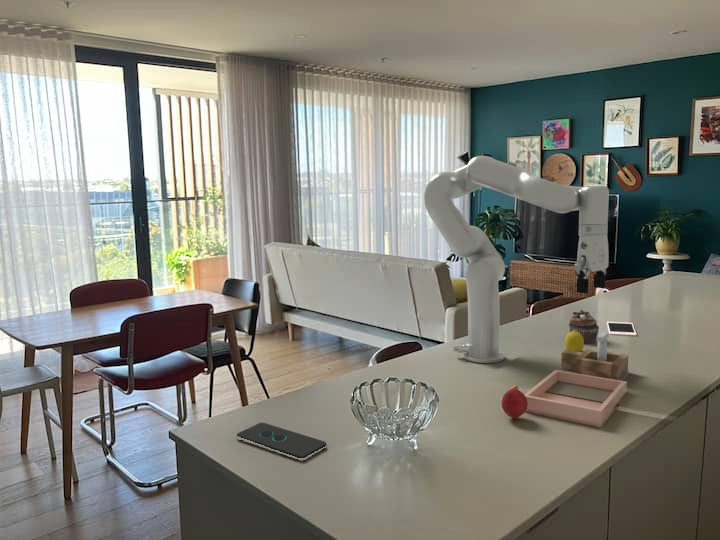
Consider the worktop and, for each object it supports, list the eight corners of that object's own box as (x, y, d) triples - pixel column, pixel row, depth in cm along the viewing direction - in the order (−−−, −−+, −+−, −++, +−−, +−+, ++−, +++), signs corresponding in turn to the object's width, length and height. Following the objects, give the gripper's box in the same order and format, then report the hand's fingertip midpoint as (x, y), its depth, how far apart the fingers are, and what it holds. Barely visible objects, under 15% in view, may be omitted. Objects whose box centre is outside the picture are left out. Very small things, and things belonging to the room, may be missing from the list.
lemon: (584, 358, 180) (585, 332, 179) (565, 357, 182) (566, 332, 180) (581, 353, 186) (582, 328, 185) (563, 352, 187) (563, 328, 186)
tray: (600, 427, 130) (601, 411, 130) (522, 411, 141) (522, 395, 141) (626, 396, 149) (626, 381, 148) (555, 383, 159) (555, 369, 159)
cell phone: (608, 335, 206) (608, 333, 206) (606, 323, 223) (606, 321, 223) (636, 337, 203) (636, 334, 203) (632, 325, 220) (632, 322, 220)
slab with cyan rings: (261, 421, 137) (328, 441, 125) (262, 428, 138) (328, 449, 126) (234, 433, 131) (301, 456, 119) (235, 441, 131) (302, 464, 119)
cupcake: (590, 345, 194) (590, 315, 192) (563, 340, 201) (563, 311, 199) (604, 339, 200) (605, 311, 198) (577, 335, 207) (578, 307, 206)
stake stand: (630, 375, 164) (632, 332, 162) (618, 389, 153) (620, 343, 151) (568, 365, 174) (569, 324, 172) (553, 378, 163) (554, 334, 162)
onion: (513, 425, 133) (513, 391, 132) (496, 417, 138) (496, 384, 137) (532, 420, 136) (533, 387, 135) (515, 412, 141) (515, 380, 140)
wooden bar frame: (627, 372, 163) (628, 354, 162) (617, 383, 154) (618, 365, 153) (569, 363, 172) (569, 346, 172) (556, 373, 164) (556, 356, 163)
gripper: (590, 233, 157) (588, 296, 160) (620, 228, 168) (617, 287, 171) (564, 231, 163) (563, 292, 165) (594, 227, 174) (592, 284, 177)
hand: (590, 290), depth 168 cm, fingers open, 9 cm apart
